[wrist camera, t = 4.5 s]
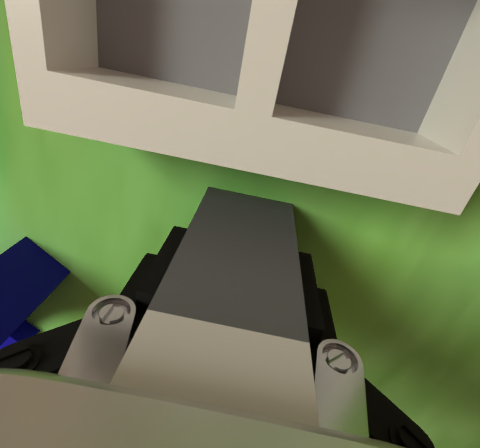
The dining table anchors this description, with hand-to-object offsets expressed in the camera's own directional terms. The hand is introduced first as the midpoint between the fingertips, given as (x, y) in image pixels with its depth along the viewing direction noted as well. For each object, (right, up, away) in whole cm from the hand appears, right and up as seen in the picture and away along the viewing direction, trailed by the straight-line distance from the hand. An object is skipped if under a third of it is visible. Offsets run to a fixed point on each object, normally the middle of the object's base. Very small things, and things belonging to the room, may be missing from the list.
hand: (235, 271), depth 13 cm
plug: (0, +2, +3) cm, 3 cm away
